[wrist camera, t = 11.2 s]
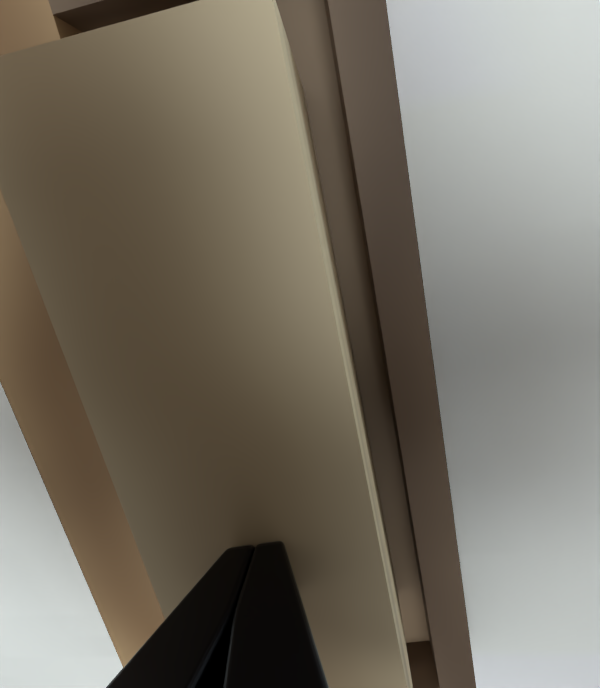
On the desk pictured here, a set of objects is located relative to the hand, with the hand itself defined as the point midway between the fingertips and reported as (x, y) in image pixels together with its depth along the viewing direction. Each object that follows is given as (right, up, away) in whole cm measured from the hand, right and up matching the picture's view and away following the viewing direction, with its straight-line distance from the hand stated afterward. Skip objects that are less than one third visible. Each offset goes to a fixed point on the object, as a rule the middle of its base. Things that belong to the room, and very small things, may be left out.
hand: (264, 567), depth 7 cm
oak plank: (0, +2, +6) cm, 6 cm away
